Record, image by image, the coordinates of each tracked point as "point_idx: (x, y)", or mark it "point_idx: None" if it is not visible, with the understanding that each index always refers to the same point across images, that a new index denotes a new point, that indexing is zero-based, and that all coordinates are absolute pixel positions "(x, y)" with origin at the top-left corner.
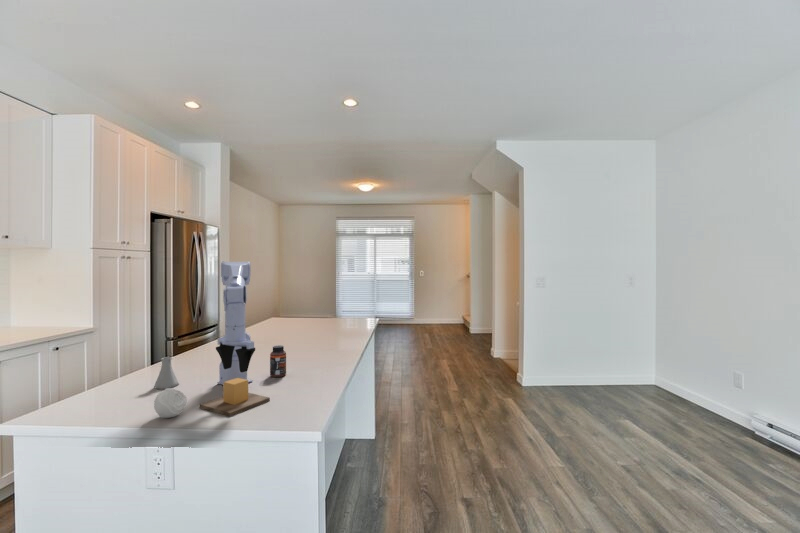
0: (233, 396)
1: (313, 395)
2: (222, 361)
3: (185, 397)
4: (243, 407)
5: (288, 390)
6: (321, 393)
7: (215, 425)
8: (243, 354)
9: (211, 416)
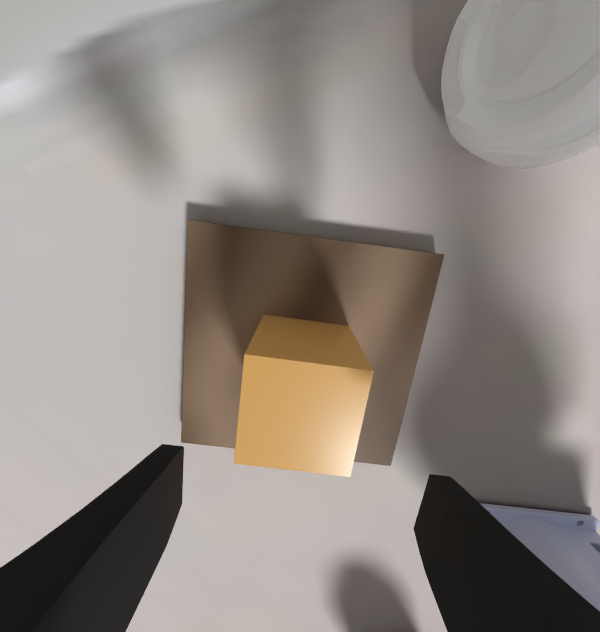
0: (262, 326)
1: None
2: (519, 553)
3: (498, 130)
4: (187, 301)
5: (212, 545)
6: None
7: (164, 101)
8: None
9: (283, 187)
